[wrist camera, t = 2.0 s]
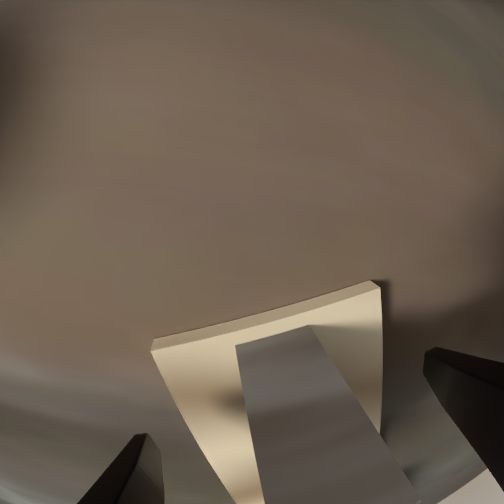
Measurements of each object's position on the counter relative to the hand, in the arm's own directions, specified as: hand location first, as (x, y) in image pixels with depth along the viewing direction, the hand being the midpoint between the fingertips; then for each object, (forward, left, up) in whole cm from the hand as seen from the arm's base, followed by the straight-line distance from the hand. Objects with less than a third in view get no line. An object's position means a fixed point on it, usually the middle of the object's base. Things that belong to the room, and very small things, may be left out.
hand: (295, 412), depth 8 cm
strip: (-9, 0, -3) cm, 9 cm away
